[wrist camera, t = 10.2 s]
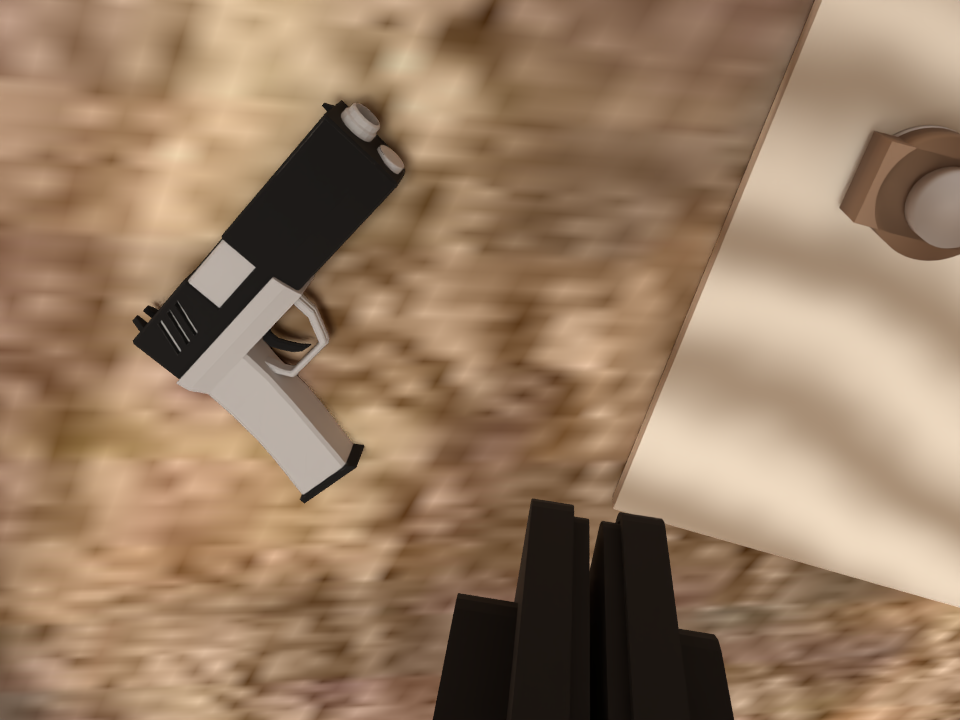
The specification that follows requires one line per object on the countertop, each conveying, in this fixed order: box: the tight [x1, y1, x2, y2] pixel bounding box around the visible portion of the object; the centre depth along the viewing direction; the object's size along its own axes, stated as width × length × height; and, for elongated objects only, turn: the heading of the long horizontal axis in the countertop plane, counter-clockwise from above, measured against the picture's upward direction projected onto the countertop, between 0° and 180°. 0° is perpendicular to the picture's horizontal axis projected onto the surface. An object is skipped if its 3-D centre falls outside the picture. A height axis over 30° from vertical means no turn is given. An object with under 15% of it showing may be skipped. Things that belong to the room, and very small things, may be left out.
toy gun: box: [133, 100, 405, 503], centre depth 37 cm, size 3×16×12 cm
